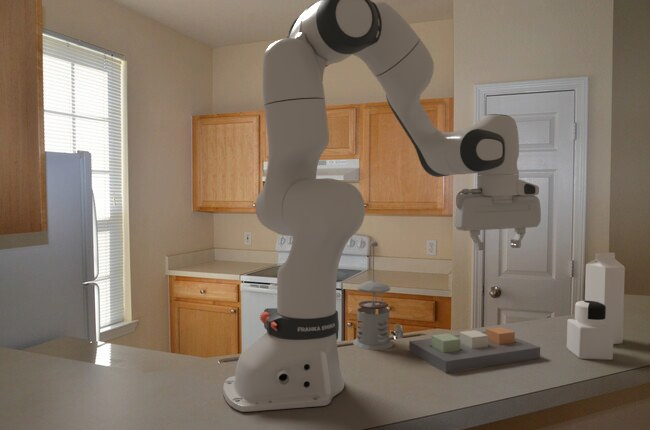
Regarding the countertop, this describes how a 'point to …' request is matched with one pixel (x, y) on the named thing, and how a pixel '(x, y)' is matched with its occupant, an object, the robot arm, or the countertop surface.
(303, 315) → the robot arm
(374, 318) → the french press
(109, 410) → the countertop surface
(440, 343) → the sage button
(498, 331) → the terracotta button
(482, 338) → the cream button
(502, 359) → the button panel
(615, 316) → the milk
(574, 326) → the medicine bottle
